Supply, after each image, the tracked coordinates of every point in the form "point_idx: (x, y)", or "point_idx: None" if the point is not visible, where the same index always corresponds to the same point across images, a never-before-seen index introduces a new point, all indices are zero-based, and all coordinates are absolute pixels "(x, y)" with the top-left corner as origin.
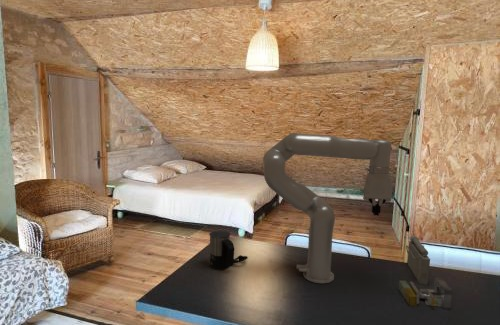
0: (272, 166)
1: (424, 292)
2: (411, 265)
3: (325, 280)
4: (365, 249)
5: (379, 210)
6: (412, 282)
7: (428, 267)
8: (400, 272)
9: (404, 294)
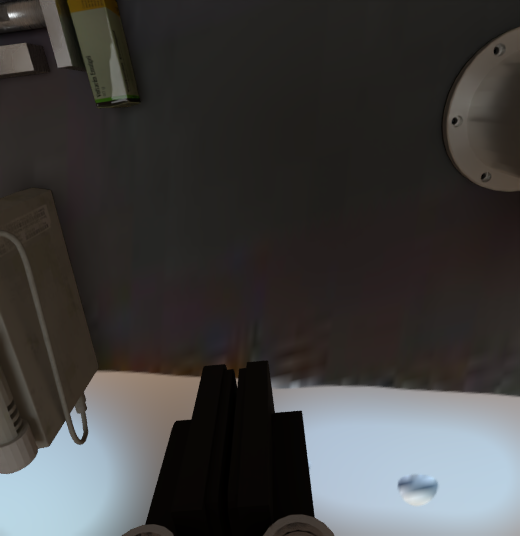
0: None
1: (17, 45)
2: (75, 323)
3: (504, 41)
4: None
5: (182, 451)
6: (57, 56)
7: None
8: (128, 274)
9: (113, 4)
